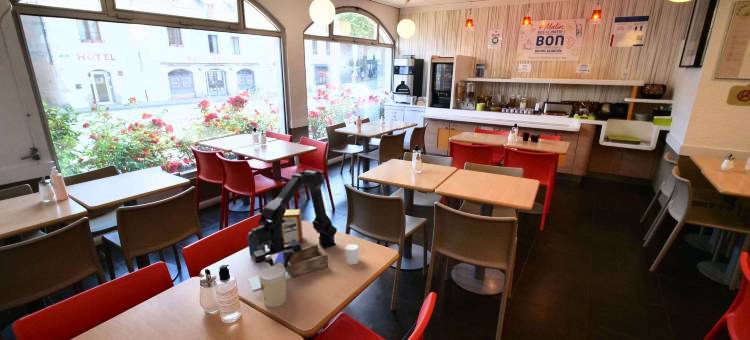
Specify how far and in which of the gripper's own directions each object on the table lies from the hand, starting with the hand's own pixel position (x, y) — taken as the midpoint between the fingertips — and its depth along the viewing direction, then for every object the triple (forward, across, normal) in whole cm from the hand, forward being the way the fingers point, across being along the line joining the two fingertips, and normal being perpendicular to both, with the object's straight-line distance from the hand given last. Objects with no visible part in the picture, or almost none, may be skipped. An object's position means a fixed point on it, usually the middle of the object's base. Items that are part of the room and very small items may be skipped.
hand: (279, 269), depth 143 cm
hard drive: (+4, -7, -13) cm, 15 cm away
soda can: (+3, +4, -22) cm, 22 cm away
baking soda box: (+3, -14, -26) cm, 30 cm away
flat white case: (+3, +5, 0) cm, 6 cm away
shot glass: (+3, -30, +7) cm, 31 cm away
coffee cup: (+3, +6, +15) cm, 16 cm away
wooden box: (+3, -12, 0) cm, 12 cm away
